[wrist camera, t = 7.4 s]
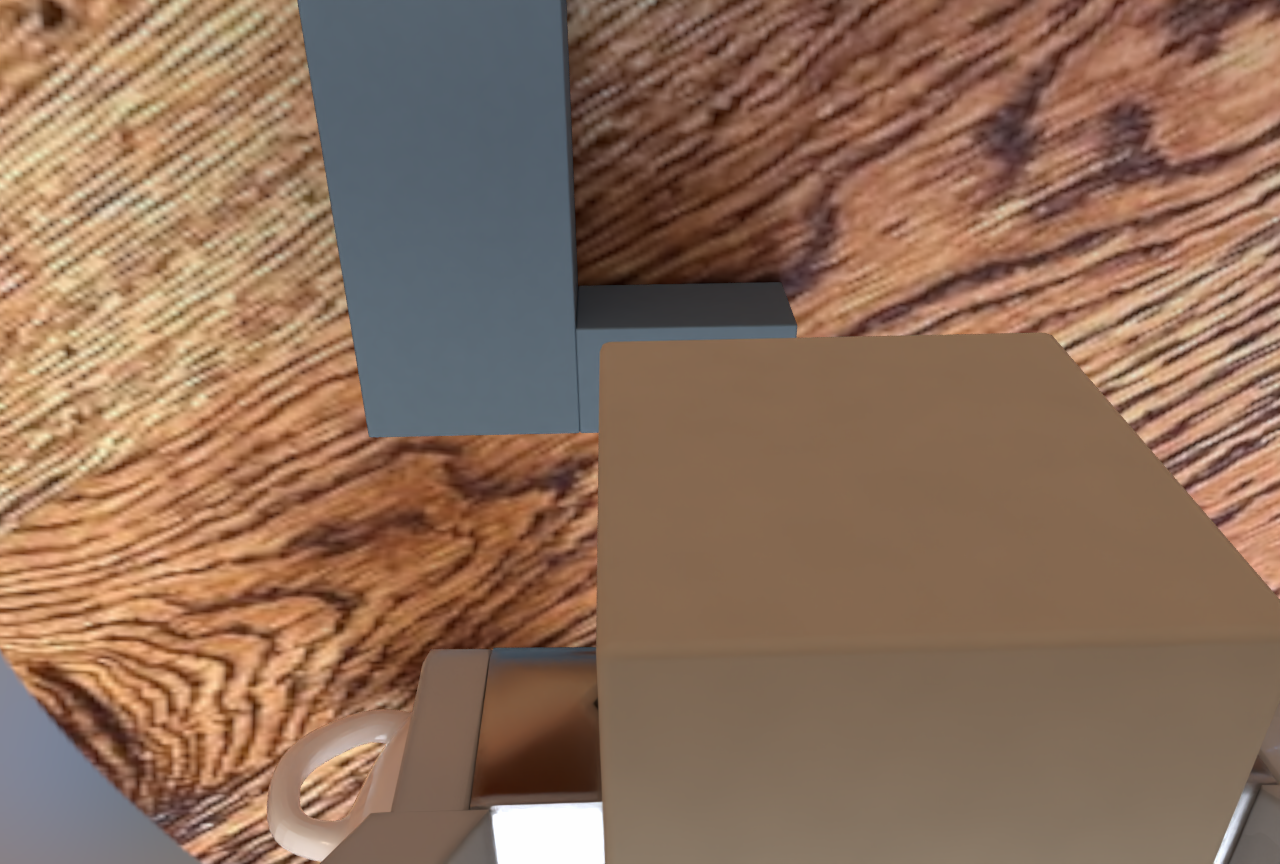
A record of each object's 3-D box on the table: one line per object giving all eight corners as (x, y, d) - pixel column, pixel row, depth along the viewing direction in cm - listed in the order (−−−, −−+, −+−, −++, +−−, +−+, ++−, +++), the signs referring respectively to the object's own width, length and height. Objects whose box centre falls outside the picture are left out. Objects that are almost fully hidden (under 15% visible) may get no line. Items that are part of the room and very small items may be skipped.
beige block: (599, 338, 8) (594, 651, 5) (1052, 328, 8) (1314, 631, 5) (616, 852, 11) (620, 1242, 8) (945, 842, 11) (1070, 1223, 8)
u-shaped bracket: (299, -203, 20) (263, -205, 18) (813, -208, 20) (838, -210, 18) (387, 387, 27) (368, 437, 25) (775, 380, 27) (790, 429, 25)
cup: (584, 820, 36) (579, 1016, 30) (287, 760, 34) (221, 958, 28) (658, 657, 32) (669, 846, 26) (329, 580, 30) (263, 765, 24)
